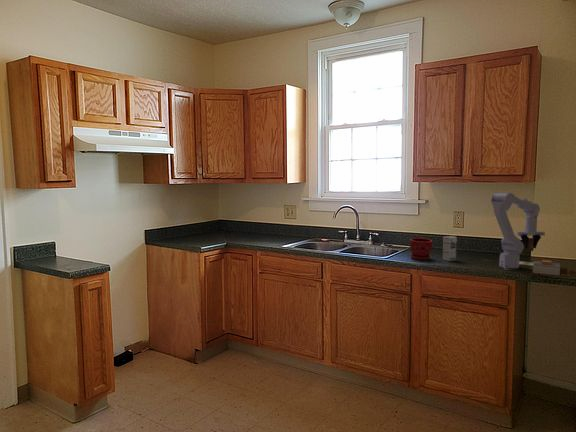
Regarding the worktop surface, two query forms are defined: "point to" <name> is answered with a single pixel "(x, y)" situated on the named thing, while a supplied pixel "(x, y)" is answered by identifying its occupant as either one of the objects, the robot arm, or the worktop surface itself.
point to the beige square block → (526, 263)
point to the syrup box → (449, 248)
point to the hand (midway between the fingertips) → (530, 248)
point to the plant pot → (420, 248)
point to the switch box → (546, 268)
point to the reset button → (546, 262)
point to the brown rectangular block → (530, 244)
